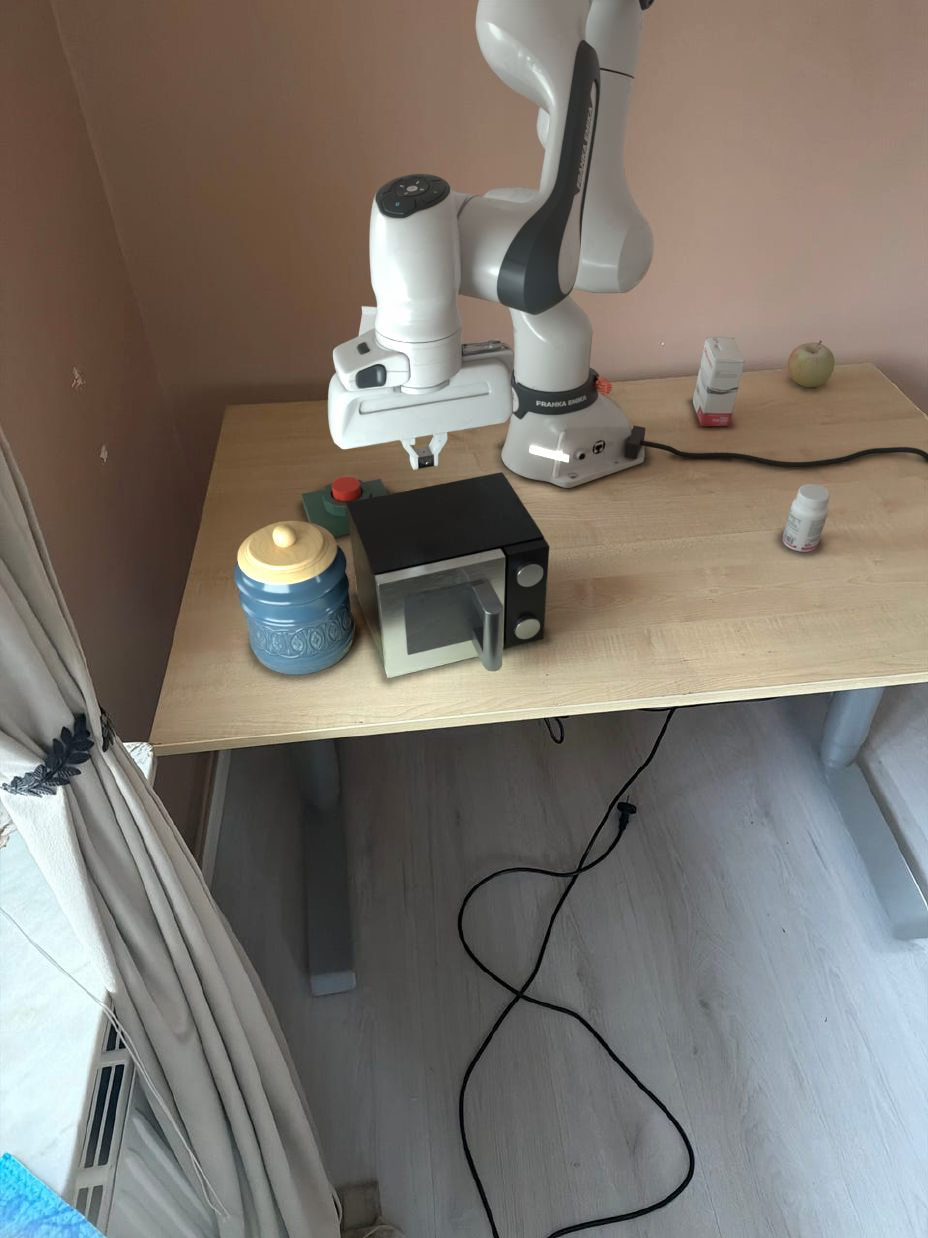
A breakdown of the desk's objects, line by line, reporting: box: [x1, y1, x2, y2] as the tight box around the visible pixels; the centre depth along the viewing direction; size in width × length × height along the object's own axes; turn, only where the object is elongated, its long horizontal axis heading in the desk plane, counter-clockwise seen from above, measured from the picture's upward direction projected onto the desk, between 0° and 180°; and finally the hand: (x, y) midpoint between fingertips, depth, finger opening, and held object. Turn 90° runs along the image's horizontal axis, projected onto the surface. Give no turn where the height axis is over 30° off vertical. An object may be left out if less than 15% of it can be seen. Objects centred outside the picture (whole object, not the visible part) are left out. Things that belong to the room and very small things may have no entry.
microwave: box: [346, 471, 550, 668], centre depth 109 cm, size 16×20×15 cm
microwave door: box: [375, 549, 505, 679], centre depth 102 cm, size 7×15×15 cm, turn 108°
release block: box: [301, 478, 389, 538], centre depth 130 cm, size 12×9×4 cm
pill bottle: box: [782, 483, 831, 553], centre depth 122 cm, size 5×5×8 cm
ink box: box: [692, 336, 746, 427], centre depth 147 cm, size 9×5×12 cm, turn 179°
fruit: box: [787, 340, 835, 388], centre depth 155 cm, size 8×7×8 cm
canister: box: [233, 520, 356, 676], centre depth 106 cm, size 13×13×18 cm
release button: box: [331, 476, 361, 502], centre depth 128 cm, size 4×4×2 cm
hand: (424, 465), depth 102 cm, fingers closed
